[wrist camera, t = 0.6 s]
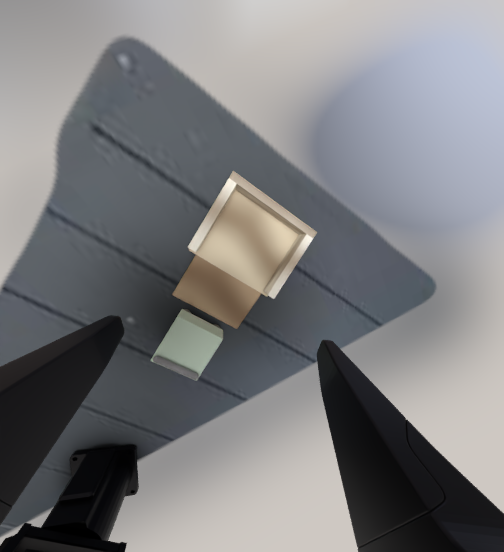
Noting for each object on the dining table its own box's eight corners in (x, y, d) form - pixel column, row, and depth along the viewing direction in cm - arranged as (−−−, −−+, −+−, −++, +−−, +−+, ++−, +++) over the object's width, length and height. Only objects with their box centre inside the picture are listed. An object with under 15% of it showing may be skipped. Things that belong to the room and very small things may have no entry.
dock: (242, 330, 23) (245, 343, 20) (166, 289, 21) (157, 297, 18) (304, 233, 22) (317, 232, 19) (231, 181, 20) (233, 170, 17)
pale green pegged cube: (199, 362, 22) (195, 385, 19) (160, 343, 21) (148, 364, 18) (222, 325, 22) (223, 342, 18) (183, 305, 21) (176, 318, 17)
